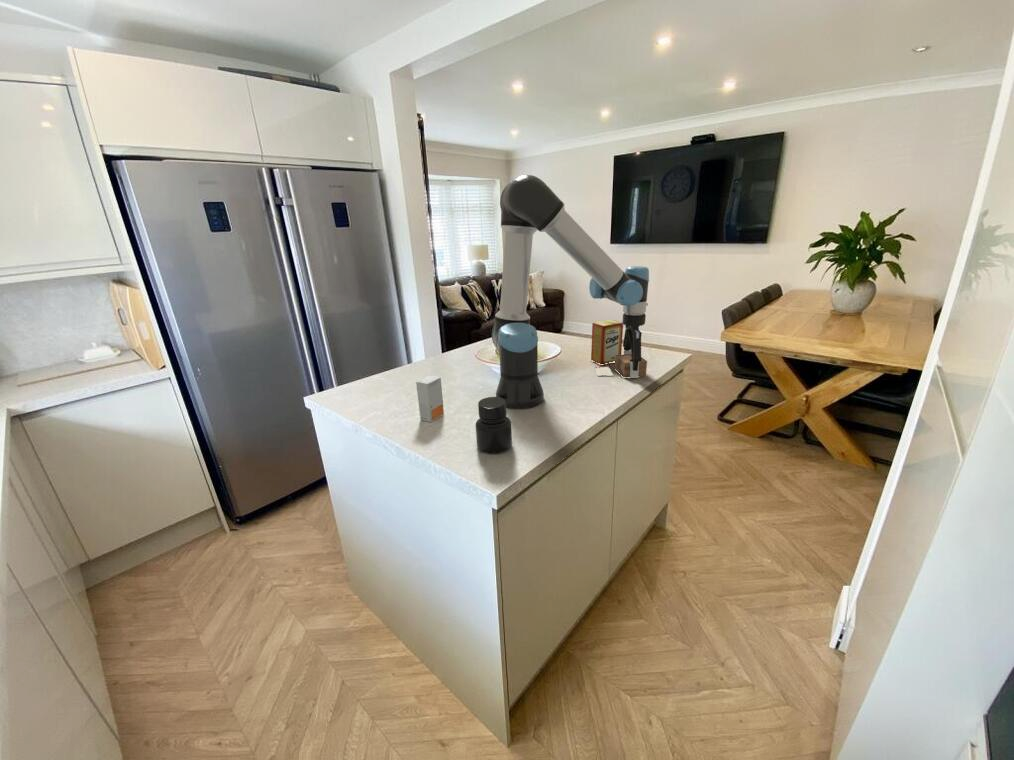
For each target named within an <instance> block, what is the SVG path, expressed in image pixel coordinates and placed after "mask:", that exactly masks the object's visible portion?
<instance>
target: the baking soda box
mask: <svg viewBox="0 0 1014 760" xmlns="http://www.w3.org/2000/svg"><path fill="white" fill-rule="evenodd" d="M623 331H624V324H623V321H622V322H621V321H618V320H614V319H609V320H607V319H606V320H602V321H597V322H592V328H591V353H590V354H591V356H590V361H591V360H593V361H595V362H597V363H600V364H605V363H609V362H613V361H615V357H616V355H622V348H623Z"/></svg>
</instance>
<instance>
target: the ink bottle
mask: <svg viewBox="0 0 1014 760" xmlns="http://www.w3.org/2000/svg"><path fill="white" fill-rule="evenodd" d="M477 407H478V416H479V417H478V419H477V420H476V422H475V436H476V447H477V449H478V451H479V452H482V453H485V454H490V455H493V454H494V455H495V454H503V453H505V452H508V450H510V448H512V444H513V436H512V435H513V434H512V421H511V419H510V418H509V417H508V416H507V407H506V400H504V399H503V398H500V397H496V396H488V397H484V398H482V399H480V400H479V401H478V404H477Z"/></svg>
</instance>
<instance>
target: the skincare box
mask: <svg viewBox="0 0 1014 760" xmlns="http://www.w3.org/2000/svg"><path fill="white" fill-rule="evenodd" d="M415 383H416V391H417V401H418V410H419V417H420V418H419V419H420V420H421V421H424V422H427V423H432V422H434V421H435V420H436V421H437V420H438V419H439V418H441V417H442V416H444V415H445V410H444V400H443V399H444V398H443V390H442V389H443V387H442V379H441V377H439V376H436V375H435V376H434V375H428V376H426V377H424V378H421V379H420V380H417V381H416V382H415Z"/></svg>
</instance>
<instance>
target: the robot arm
mask: <svg viewBox="0 0 1014 760" xmlns="http://www.w3.org/2000/svg"><path fill="white" fill-rule="evenodd" d="M499 205H500V210H501V215H500V216H501V217H500V228H502V230H503V232H504V233H505V234H504V245H503V258H502V259H503V260H502V263H503V264H502V277H501V291H500V306H499V310H498V311H497V312H496V313H495V315H494V324H493V327H492V331H491V340H492V343H493V345H494V347H495V349H496V351H497V352H498V354H499V355H498V356H499V368H500V369H499V370H500V371H499V372H500V377H499V382H498V386H497V389H496V392H495V397H500V398H503V399H504V400H506V409H507V408H508V409H515V410H516V409H518V410H519V409H523V410H524V409H530V408H533V407H537V406H539V405H541V404H542V403H543V401H544V398H545V397H544V395H545V393H544V390H543V387H542V384H541V381H540V377H539V372H538V369H539V365H538V361H539V358H538V357H539V356H538V354H539V351H538V342H539V336H538V331H537V329H536V327H535V326H534V325H531V324H530V323H531V322H530V320H531V316H530V315H529V314H528V313H527V305H528V296H529V292H528V291H529V283H530V270H531V259H532V249H533V239H534V234H535V233H536V232H537V231H539V233H546V235H548V237H550V238H551V239H552V240H553V241H554V242H555V243H556V244H557V245H558V246H559V247H560V248H561V249H562V250H563V251H564V252H565V253H566V254H567V255H569V257H570V258H571V259H572V260H573V261H574V262H575V263H577V264H578V265H579V266H580V268H581V269H582V270H583V271H585V272H586V273H587V274H588V275H589V277H590V280H589V284H588V285H589V287H588V288H589V295H590V297H591V298H592V299H595V300H596V299H598V300H601V299H606V300H609V301H612V302H615V303H617V304H619V305H621V306H623V307H622V312H623V313H622V323H623V326H625V330H624V336H623V337H624V338H623V341H622V348H623V355H626V354H631V355H632V359H630V362H631V365H630V378H638V379H639V377H638V372H639V362H640V361H641V360H642V359H641V357H642V334H643V333H642V332H641V330H640V326H641V327H642V326H644V325H645V324H646V319H647V318H646V316H647V315H646V312H647V307H648V305H649V303H648V302H647V300H648V293H649V292H648V290H649V283H650V270H649V268H648V267H647V266H641V265H639V266H637V265H636V266H635V265H633V266H627V267H626V268H625V271H623V269H622V268H621V267H620V266H619V265H618V264H617V263H616V262H615V261H614V260H613V259H612V258H611V257H610V256H609V254H607V253H606V251H605V250H603V249H602V248H601V246H599V245H598V243H597V242H596V241H595V240H594V238H592V237H591V236H590V235H589V233H587V232H586V231H585V229H583V228H582V227H581V226H580V224H578V222H577V221H575V219H574V218H573V217H572V216H571V215H570V214H569V213H568V212H567V211H566V210H565V209H566V208H565V203H564V202H563V201H562V200H561V199H560V198H559V196H557V194H555V192H554V191H553V190H552V189H551V188H550V187H549V185H547V183H545V182H544V180H542V179H541V178H540V177H538V176H535V175H531V174H524V175H523V174H522V175H520V176H518V177H517V178H515V179H513V180H512V181H510V182H508V184H506V186H505V187H503V191H501V194H500V198H499ZM636 357H637V358H636ZM630 378H629V379H630Z"/></svg>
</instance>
